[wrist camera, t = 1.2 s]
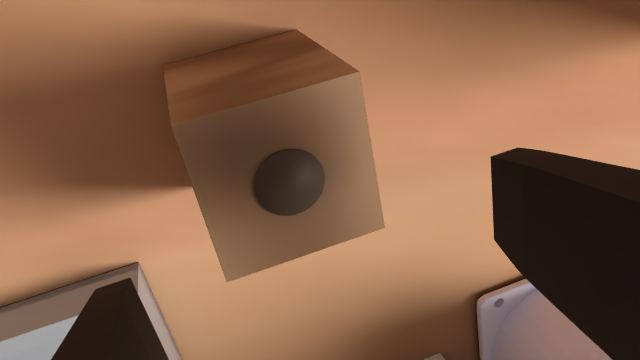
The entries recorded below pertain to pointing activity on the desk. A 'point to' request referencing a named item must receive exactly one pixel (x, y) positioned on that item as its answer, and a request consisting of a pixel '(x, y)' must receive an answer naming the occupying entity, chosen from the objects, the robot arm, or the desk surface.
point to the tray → (69, 317)
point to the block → (274, 149)
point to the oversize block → (435, 357)
